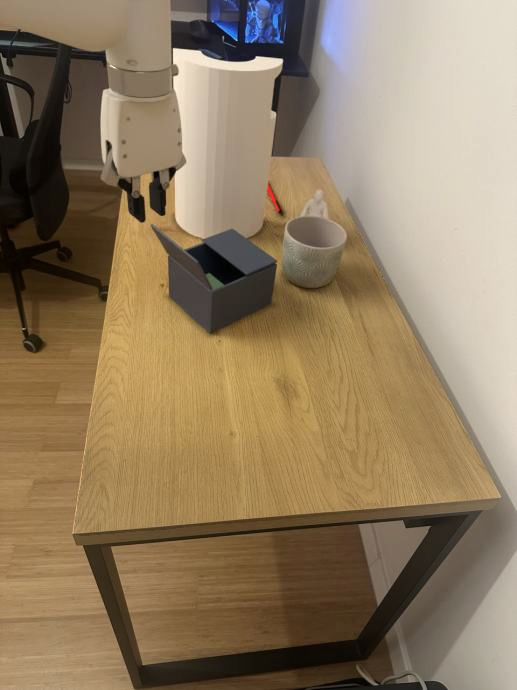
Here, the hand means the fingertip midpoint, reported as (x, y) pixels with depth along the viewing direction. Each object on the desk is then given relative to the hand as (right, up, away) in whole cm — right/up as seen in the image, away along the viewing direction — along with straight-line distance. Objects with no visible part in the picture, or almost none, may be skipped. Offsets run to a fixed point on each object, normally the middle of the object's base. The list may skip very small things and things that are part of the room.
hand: (147, 214), depth 73 cm
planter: (+26, -5, +33) cm, 42 cm away
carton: (+9, -11, +24) cm, 28 cm away
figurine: (+28, +4, +42) cm, 51 cm away
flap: (+4, -4, +10) cm, 11 cm away
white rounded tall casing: (+7, +8, +43) cm, 44 cm away
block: (+6, -12, +22) cm, 25 cm away
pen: (+20, +19, +57) cm, 63 cm away
